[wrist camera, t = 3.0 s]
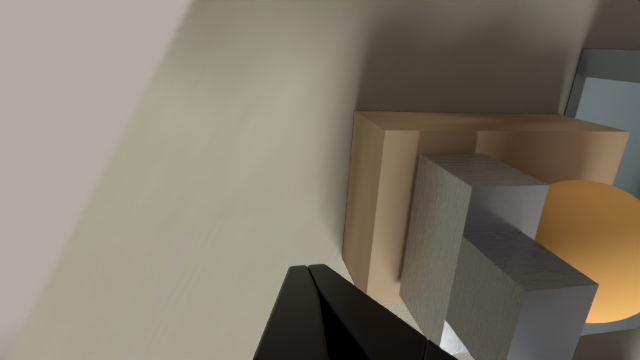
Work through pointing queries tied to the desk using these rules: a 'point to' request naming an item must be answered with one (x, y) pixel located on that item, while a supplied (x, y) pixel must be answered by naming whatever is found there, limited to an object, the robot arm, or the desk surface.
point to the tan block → (451, 138)
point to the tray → (612, 125)
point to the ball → (596, 242)
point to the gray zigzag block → (488, 264)
